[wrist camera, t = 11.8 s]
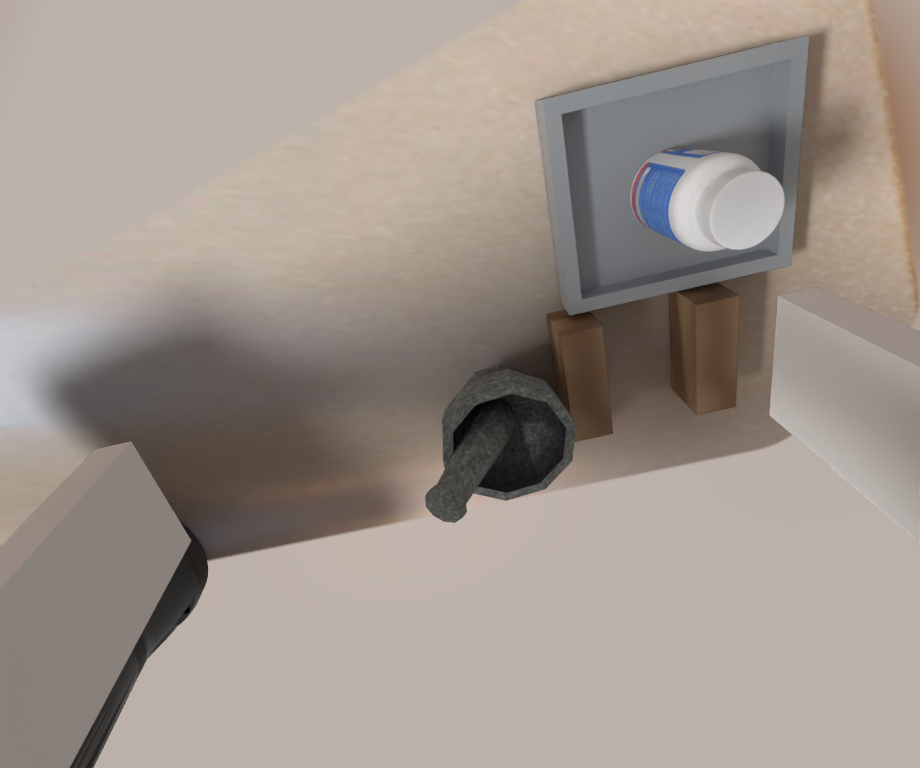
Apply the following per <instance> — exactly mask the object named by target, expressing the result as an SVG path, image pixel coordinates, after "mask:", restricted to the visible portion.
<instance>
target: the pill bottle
mask: <svg viewBox="0 0 920 768" xmlns="http://www.w3.org/2000/svg"><path fill="white" fill-rule="evenodd" d="M630 203H631V208H632V211H633V213H634V215H635V217H636V219H637V220H638V221H639V222H640V223H641V224H642V225H643V226H645V227H646V228H648V229H650V230H652V231H654V232H657V233H659V234H661V235H663V236H666V237H668V238H670V239H672V240H674V241H677V242H679V243H681V244H683V245H685V246H688V247H690V248H692V249H695V250H699V251H706V252H711V251H718V250H723V249H726V248H729V249H734V250H741V249H747V248H750V247H753V246H755V245H757V244H759V243H760V242H762V241H763V240H764V239H766V238H767V237H768V236H769V235H770V234H771V233H772V232H773V231H774V229H775V228H776V226H777V225H778V223H779V221H780V219H781V216H782V214H783V210H784V203H785V197H784V192H783V188H782V186H781V184H780V183H779V181H778V180H777V179H776V178H775V177H774V176H772V175H771V174H769V173H766V172H763V171H761V170H760V169H759V167H758V166H757V165H756V164H755V163H754V162H753V161H752V160H750V159H749V158H747V157H745V156H742V155H739V154H735V153H729V152H719V151H709V150H698V149H688V148H672V149H667V150H664V151H661V152H659V153H657V154H655V155H653V156H652V157H650V158H649V159H648V160H647V161H646V162H645V163H644V164H643V165H642V166H641V167H640V169H639V170H638V172H637V173H636V175H635V177H634V180H633V183H632V186H631V191H630Z"/></svg>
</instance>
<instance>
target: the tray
mask: <svg viewBox="0 0 920 768" xmlns="http://www.w3.org/2000/svg"><path fill="white" fill-rule="evenodd" d="M808 47H809V36H804V37H799V38H794V39H790V40H785V41H780V42H776V43H772V44H768V45H764V46H760V47H756V48H751V49H747V50H743V51H739V52H735V53H731V54H727V55H722V56H718V57H714V58H710V59H706V60H702V61H698V62H693V63H689V64H685V65H681V66H677V67H673V68H669V69H665V70H660V71H656V72H652V73H648V74H644V75H640V76H636V77H631V78H627V79H623V80H619V81H615V82H611V83H607V84H602V85H598V86H594V87H590V88H586V89H582V90H578V91H573V92H569V93H565V94H561V95H557V96H553V97H549V98H544V99H540V100H536V101H535V106H536V114H537V121H538V129H539V137H540V144H541V152H542V160H543V167H544V175H545V183H546V190H547V198H548V205H549V213H550V221H551V228H552V236H553V244H554V251H555V259H556V267H557V274H558V282H559V290H560V297H561V305H562V306H563V307H564V309H565V310H566V311H567V313H568V314H569V315H574V314H579V313H583V312H588V311H592V310H596V309H601V308H605V307H610V306H614V305H619V304H623V303H627V302H632V301H636V300H641V299H645V298H649V297H654V296H658V295H663V294H667V293H672V292H676V291H680V290H685V289H689V288H694V287H698V286H702V285H707V284H711V283H716V282H720V281H725V280H729V279H733V278H738V277H742V276H747V275H751V274H755V273H760V272H764V271H769V270H773V269H778V268H782V267H786V266H791V262H792V249H793V236H794V224H795V211H796V199H797V186H798V173H799V161H800V148H801V136H802V123H803V110H804V98H805V85H806V73H807V60H808ZM672 148H688V149H698V150H709V151H719V152H729V153H735V154H739V155H742V156H745V157H747V158H749V159H750V160H752V161H753V162H754V163H755V164H756V165H757V166H758V167H759V169H760V170H761V171H763V172H766V173H769V174H771V175H772V176H774V177H775V178H776V179H777V180H778V181H779V183H780V184H781V186H782V188H783V192H784V197H785V203H784V210H783V214H782V216H781V219H780V221H779V223H778V225H777V226H776V228H775V229H774V231H773V232H772V233H771V234H770V235H769V236H768V237H767V238H766V239H764V240H763V241H762V242H760V243H759V244H757V245H755V246H753V247H750V248H747V249H741V250H734V249H729V248H726V249H723V250H718V251H711V252H706V251H699V250H695V249H692V248H690V247H688V246H685V245H683V244H681V243H679V242H677V241H674V240H672V239H670V238H668V237H666V236H663V235H661V234H659V233H657V232H654V231H652V230H650V229H648V228H646V227H645V226H643V225H642V224H641V223H640V222H639V221H638V220H637V219H636V217H635V215H634V213H633V211H632V208H631V203H630V191H631V186H632V183H633V180H634V177H635V175H636V173H637V172H638V170H639V169H640V167H641V166H642V165H643V164H644V163H645V162H646V161H647V160H648V159H649V158H650V157H652V156H653V155H655V154H657V153H659V152H661V151H664V150H667V149H672Z"/></svg>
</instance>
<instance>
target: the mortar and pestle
mask: <svg viewBox="0 0 920 768" xmlns="http://www.w3.org/2000/svg"><path fill="white" fill-rule="evenodd" d="M442 423H443V461H444V467H445V468H446V469H445V470H444V472H443V474H442V476H441V478H440V480H439V482H438V483H437V485H435V486H434V487H433V488H431V489H430V490H429V491H428V493H427V494H426V496H425V499H426V507H427V508H428V509H429V511H430V512H431V513H432V514H433V515H434V516H435V517H437V518H439V519H441V520H442V521H445V522H454V523H455V522H457V521H458V520H460V519H461V518H462V517H463V516H464V515H465V514H466V512H467V510H466V503H467V502H468V500H469V499H470V497H471V496H472V494H473V493H474V494H479V495H483V496H488V497H493V498H497V499H502V500H506V501H507V500H510V499H513V498H517V497H520V496H523V495H527V494H530V493H533V492H537V491H540V490H543V489H546V488H547V487H548V486H549V485H550V484H551V482H552V481H553V480H554V479H555V478H556V477H557V476H558V475H559V474H560V473H561V472H562V471H563V470H564V469H565V468H566V467H567V466H568V465H569V463H570V462H571V461H572V457H573V449H574V440H575V432H576V424H575V422H574V420H573V418H572V416H571V414H570V413H569V412H568V410H567V409H566V408H565V406H564V405H563V403H562V402H561V401H560V399H559V398H558V397H557V395H556V394H555V393H554V391H553V390H552V389H551V387H550V386H549V385H548V384H547V383H546V382H545V381H544V380H543V379H541V378H537V377H533V376H530V375H526V374H522V373H521V372H520V371H517V370H514V369H510V368H506V367H503V366H499V365H497V366H494V367H491V368H488V369H485V370H482V371H479V372H475V373H474V374H473V376H472V377H471V378H470V379H469V381H468V382H467V383H466V384H465V386H464V387H463V388H462V389H461V391H460V392H459V393H458V394H457V396H456V397H455V398H454V399H453V401H452V402H451V403H450V404H449V406H448V407H447V408H446V409H445V411H444V416H443V420H442Z"/></svg>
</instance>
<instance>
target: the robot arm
mask: <svg viewBox="0 0 920 768" xmlns="http://www.w3.org/2000/svg"><path fill="white" fill-rule="evenodd" d="M770 416H771V417H772V418H773V419H774V420H776V421H777V422H778V423H779V424H780V425H781V426H783V427H784V428H785V429H786V430H787V431H788V432H790V433H791V434H792V435H793V436H794V437H795V438H797V439H798V440H799V441H800V442H801V443H802V444H804V445H805V446H806V447H807V448H808V449H810V450H811V451H812V452H813V453H814V454H815V455H816V456H818V457H819V458H820V459H821V460H822V461H823V462H825V463H826V464H827V465H828V466H829V467H831V468H832V469H833V470H834V471H835V472H836V473H838V474H839V475H840V476H841V477H842V478H844V479H845V480H846V481H847V482H848V483H849V484H850V485H852V486H853V487H854V488H855V489H856V490H857V491H859V492H860V493H861V494H862V495H863V496H865V497H866V498H867V499H868V500H869V501H870V502H871V503H873V504H874V505H875V506H876V507H877V508H878V509H880V510H881V511H882V512H883V513H885V514H886V515H887V516H888V517H889V518H890V519H891V520H893V521H894V522H895V523H896V524H897V525H898V526H900V527H901V528H902V529H903V530H904V531H905V532H907V533H908V534H909V535H910V536H912V538H914V539H915V540H916V541H917V542H918V543H919V544H920V331H918V330H916V329H913V328H911V327H909V326H906V325H904V324H902V323H899V322H897V321H895V320H893V319H890V318H888V317H886V316H883V315H881V314H879V313H876V312H874V311H872V310H869V309H867V308H865V307H862V306H860V305H858V304H855V303H853V302H851V301H848V300H846V299H844V298H841V297H839V296H837V295H834V294H832V293H830V292H827V291H825V290H823V289H820V288H818V287H816V288H811V289H807V290H802V291H798V292H793V293H789V294H784V295H780V296H778V299H777V314H776V328H775V343H774V357H773V372H772V386H771V400H770ZM207 577H208V564H207V559H206V556H205V553H204V551H203V549H202V547H201V545H200V544H199V542H198V541H197V539H196V538H195V537H194V536H193V535H192V533H191V532H190V531H189V530H188V529H187V528H185V527H184V526H183V525H182V524H181V523H180V521H179V519H178V518H177V516H176V515H175V513H174V511H173V510H172V508H171V506H170V505H169V503H168V501H167V500H166V498H165V496H164V495H163V493H162V491H161V490H160V488H159V486H158V485H157V483H156V482H155V480H154V478H153V477H152V475H151V473H150V472H149V470H148V468H147V467H146V465H145V463H144V462H143V460H142V458H141V457H140V455H139V453H138V452H137V450H136V449H135V447H134V445H133V444H132V442H131V441H130V442H126V443H121V444H117V445H112V446H108V447H103V448H99V449H95V450H94V451H93V452H92V453H91V454H90V455H89V456H88V457H87V458H86V459H85V460H84V461H83V462H82V463H81V464H80V465H79V466H78V467H77V469H76V470H75V471H74V472H73V473H72V474H71V475H70V476H69V477H68V478H67V479H66V480H65V481H64V482H63V483H62V484H61V485H60V486H59V487H58V488H57V489H56V490H55V491H54V492H53V493H52V494H51V495H50V496H49V497H48V498H47V499H46V500H45V501H44V503H43V504H42V505H41V506H40V507H39V508H38V509H37V510H36V511H35V512H34V513H33V514H32V515H31V516H30V517H29V518H28V519H27V520H26V521H25V522H24V523H23V524H22V525H21V526H20V527H19V528H18V529H17V530H16V531H15V532H14V533H13V534H12V535H11V536H10V538H9V539H8V540H7V541H6V542H5V543H4V544H3V545H2V546H1V547H0V768H93V767H94V766H95V763H96V761H97V760H98V758H99V755H100V753H101V751H102V749H103V747H104V745H105V743H106V741H107V739H108V737H109V735H110V733H111V731H112V729H113V727H114V725H115V723H116V721H117V719H118V717H119V715H120V713H121V710H122V709H123V706H124V704H125V702H126V700H127V698H128V696H129V694H130V692H131V690H132V688H133V686H134V684H135V682H136V680H137V678H138V676H139V674H140V672H141V670H142V668H143V666H144V664H145V662H146V660H147V659H148V657H150V656H151V654H152V653H153V652H154V651H155V650H156V649H157V648H158V647H159V646H160V645H161V644H162V643H163V642H164V641H165V640H166V639H167V638H168V636H169V635H170V634H171V633H172V632H173V631H174V630H175V628H176V627H177V626H178V625H179V624H181V623H182V622H183V621H184V620H185V619H186V618H187V617H188V616H189V615H190V613H191V612H192V611H193V609H194V608H195V606H196V604H197V602H198V600H199V598H200V595H201V593H202V591H203V589H204V587H205V584H206V581H207Z"/></svg>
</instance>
